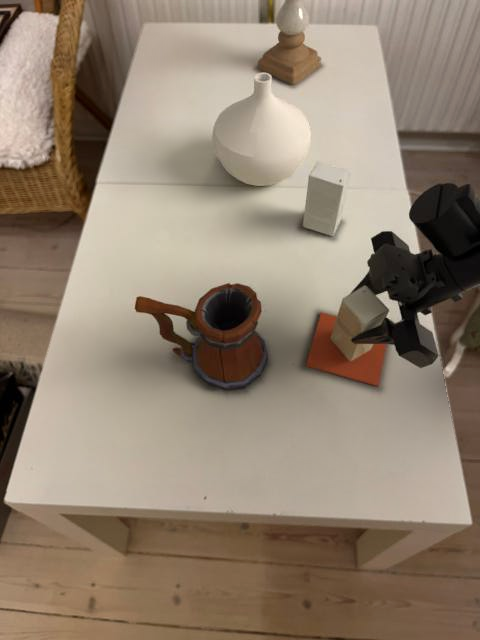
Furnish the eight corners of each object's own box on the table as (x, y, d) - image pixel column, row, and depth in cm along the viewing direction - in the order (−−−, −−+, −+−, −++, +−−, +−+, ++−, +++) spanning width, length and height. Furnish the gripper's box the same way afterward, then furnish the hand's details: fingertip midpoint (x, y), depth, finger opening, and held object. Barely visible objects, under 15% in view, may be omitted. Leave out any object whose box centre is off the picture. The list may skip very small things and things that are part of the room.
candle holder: (321, 65, 116) (336, -53, 96) (293, 85, 112) (302, -33, 92) (285, 48, 120) (292, -68, 100) (256, 68, 116) (258, -50, 96)
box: (329, 338, 75) (340, 296, 66) (351, 325, 76) (364, 282, 67) (351, 363, 73) (365, 324, 63) (373, 349, 74) (390, 309, 64)
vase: (321, 186, 95) (337, 96, 78) (232, 211, 91) (229, 122, 75) (285, 130, 104) (291, 38, 88) (203, 151, 101) (194, 60, 84)
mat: (388, 331, 77) (389, 330, 77) (377, 386, 72) (378, 385, 72) (320, 313, 79) (321, 312, 79) (305, 366, 74) (305, 364, 74)
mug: (144, 384, 73) (121, 334, 60) (159, 319, 79) (142, 261, 66) (263, 396, 72) (267, 347, 59) (270, 329, 78) (274, 272, 65)
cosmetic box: (340, 221, 90) (352, 169, 80) (333, 237, 88) (344, 186, 78) (309, 211, 91) (317, 159, 81) (301, 227, 89) (308, 175, 79)
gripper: (404, 182, 60) (306, 245, 69) (442, 310, 50) (321, 363, 59) (447, 225, 66) (352, 277, 76) (488, 345, 56) (372, 388, 66)
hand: (349, 321), depth 69 cm, fingers closed on box, 6 cm apart
